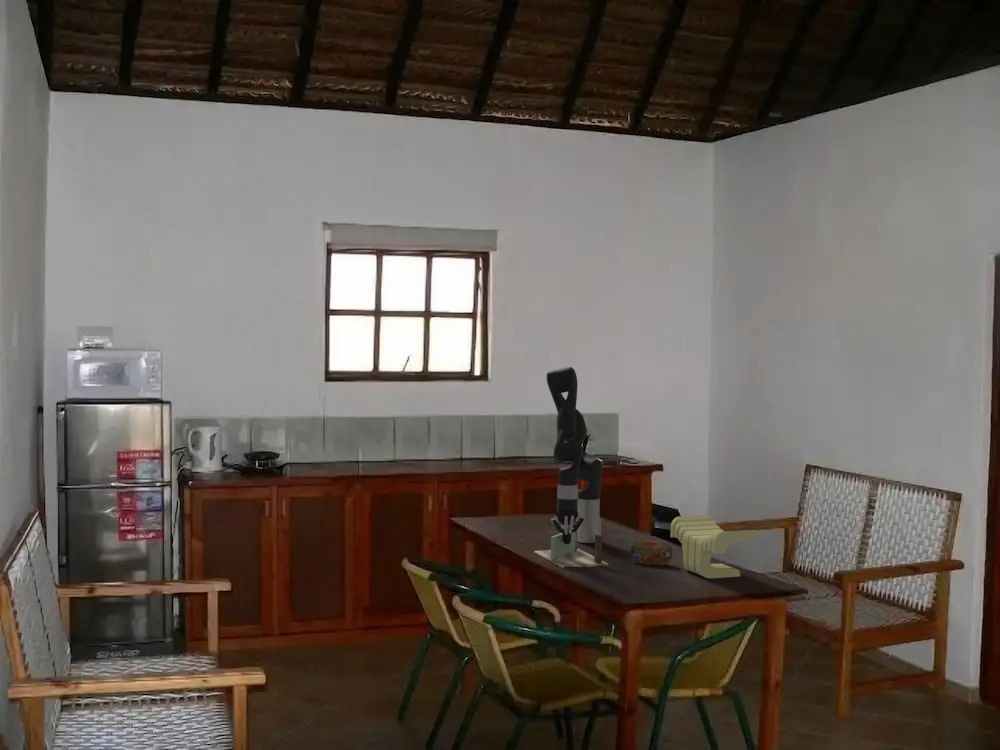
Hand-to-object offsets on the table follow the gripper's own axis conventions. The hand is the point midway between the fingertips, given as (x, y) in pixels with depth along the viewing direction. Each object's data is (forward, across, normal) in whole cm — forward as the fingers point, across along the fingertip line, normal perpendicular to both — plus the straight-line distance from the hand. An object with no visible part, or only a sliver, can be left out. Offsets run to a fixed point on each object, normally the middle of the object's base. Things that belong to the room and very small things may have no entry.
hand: (566, 543), depth 399 cm
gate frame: (+6, -2, -1) cm, 6 cm away
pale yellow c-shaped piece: (+6, -41, +32) cm, 53 cm away
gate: (+5, -1, -5) cm, 7 cm away
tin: (+6, -28, +13) cm, 32 cm away
